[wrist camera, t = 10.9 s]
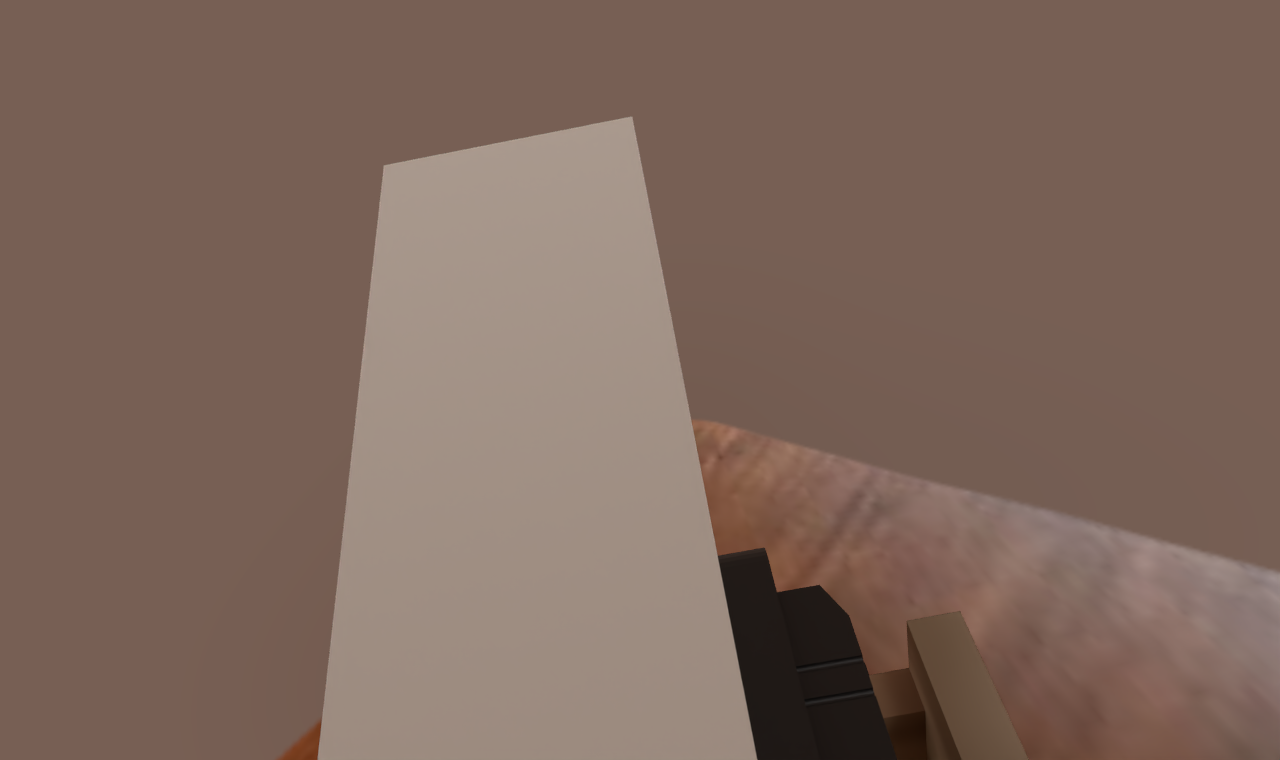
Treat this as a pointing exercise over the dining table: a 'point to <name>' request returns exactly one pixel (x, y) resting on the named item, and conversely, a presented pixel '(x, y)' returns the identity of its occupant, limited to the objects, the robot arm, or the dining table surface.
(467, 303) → the place card sign
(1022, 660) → the dining table surface
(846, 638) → the robot arm
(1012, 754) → the brown wooden tray
